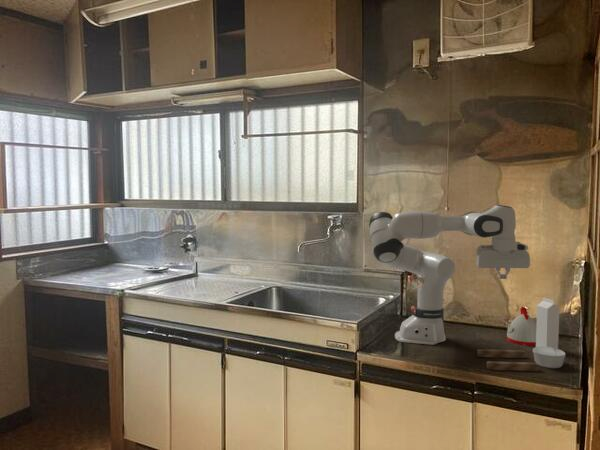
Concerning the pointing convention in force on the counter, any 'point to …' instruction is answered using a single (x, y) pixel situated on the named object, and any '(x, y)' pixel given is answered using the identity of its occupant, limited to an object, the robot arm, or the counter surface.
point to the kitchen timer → (522, 330)
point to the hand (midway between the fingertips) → (502, 278)
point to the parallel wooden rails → (507, 365)
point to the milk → (547, 324)
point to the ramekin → (549, 357)
